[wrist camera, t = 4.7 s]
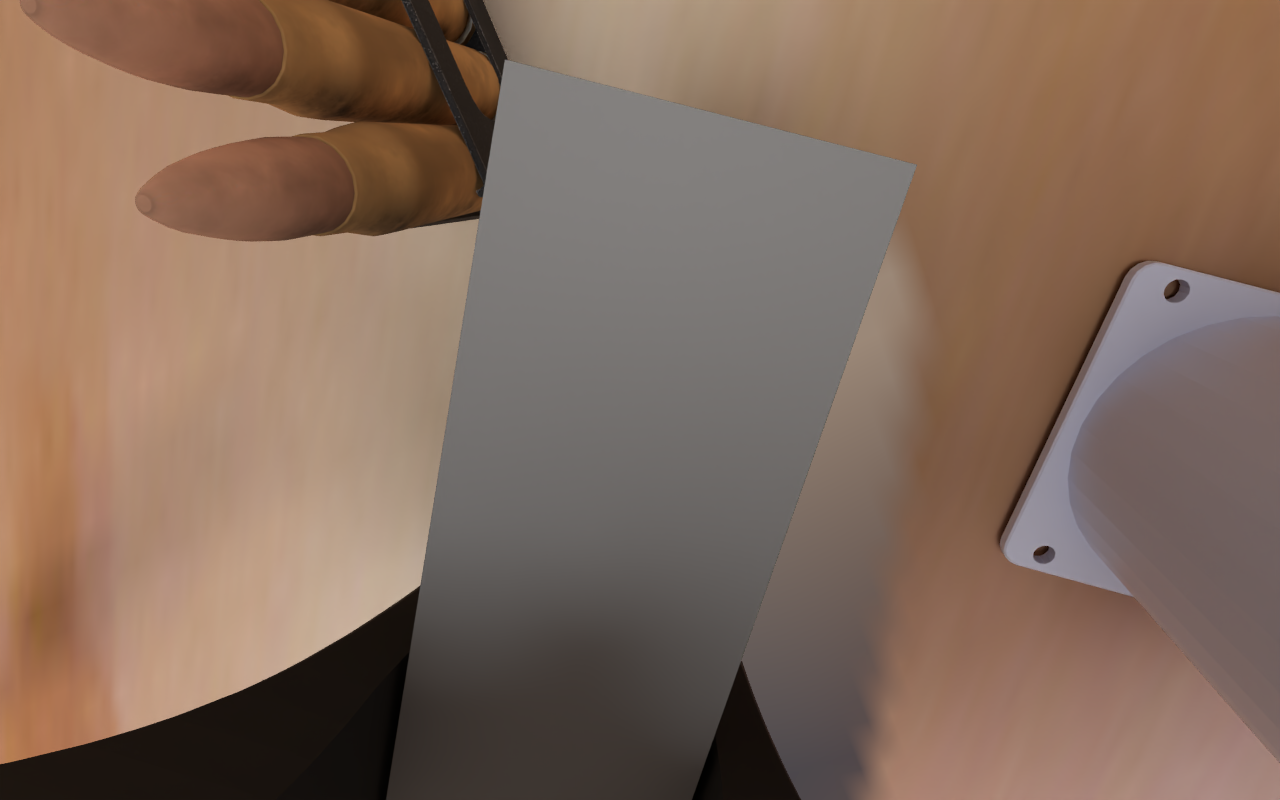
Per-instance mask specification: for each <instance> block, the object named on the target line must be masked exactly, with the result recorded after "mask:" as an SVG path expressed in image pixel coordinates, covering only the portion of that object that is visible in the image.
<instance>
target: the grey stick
mask: <svg viewBox="0 0 1280 800" xmlns="http://www.w3.org/2000/svg"><path fill="white" fill-rule="evenodd" d="M916 166H917V165H916V164H912V163H908V162H904V161H900V160H896V159H893V158H889V157H885V156H881V155H877V154H873V153H869V152H865V151H861V150H857V149H853V148H850V147H846V146H842V145H838V144H834V143H830V142H826V141H822V140H818V139H814V138H810V137H806V136H803V135H799V134H795V133H791V132H787V131H783V130H779V129H775V128H771V127H767V126H763V125H759V124H756V123H752V122H748V121H744V120H740V119H736V118H732V117H728V116H724V115H720V114H716V113H713V112H709V111H705V110H701V109H697V108H693V107H689V106H685V105H681V104H677V103H673V102H669V101H666V100H662V99H658V98H654V97H650V96H646V95H642V94H638V93H634V92H630V91H626V90H623V89H619V88H615V87H611V86H607V85H603V84H599V83H595V82H591V81H587V80H583V79H579V78H576V77H572V76H568V75H564V74H560V73H556V72H552V71H548V70H544V69H540V68H536V67H533V66H529V65H525V64H521V63H517V62H513V61H509V60H505V62H504V69H503V75H502V81H501V87H500V94H499V100H498V106H497V112H496V118H495V125H494V131H493V137H492V143H491V150H490V156H489V162H488V168H487V174H486V181H485V187H484V193H483V199H482V206H481V212H480V218H479V224H478V230H477V237H476V243H475V249H474V255H473V262H472V268H471V274H470V280H469V286H468V293H467V299H466V305H465V311H464V318H463V324H462V330H461V336H460V342H459V349H458V355H457V361H456V367H455V374H454V380H453V386H452V392H451V398H450V405H449V411H448V417H447V423H446V430H445V436H444V442H443V448H442V454H441V461H440V467H439V473H438V479H437V486H436V492H435V498H434V504H433V510H432V517H431V523H430V529H429V535H428V542H427V548H426V554H425V560H424V566H423V573H422V579H421V585H420V591H419V598H418V604H417V610H416V616H415V622H414V629H413V635H412V641H411V647H410V654H409V660H408V666H407V672H406V679H405V685H404V691H403V697H402V703H401V710H400V716H399V722H398V728H397V735H396V741H395V747H394V753H393V759H392V766H391V772H390V778H389V784H388V791H387V797H386V800H692V798H693V795H694V792H695V789H696V786H697V784H698V781H699V778H700V775H701V772H702V770H703V767H704V764H705V761H706V758H707V755H708V753H709V750H710V747H711V744H712V741H713V739H714V736H715V733H716V730H717V727H718V724H719V722H720V719H721V716H722V713H723V710H724V707H725V705H726V702H727V699H728V696H729V693H730V691H731V688H732V685H733V682H734V679H735V676H736V674H737V671H738V668H739V665H740V662H741V660H742V657H743V654H744V651H745V648H746V645H747V643H748V640H749V637H750V634H751V631H752V629H753V626H754V623H755V620H756V617H757V614H758V612H759V609H760V606H761V603H762V600H763V598H764V595H765V592H766V589H767V586H768V583H769V581H770V577H771V575H772V572H773V569H774V566H775V564H776V561H777V558H778V555H779V552H780V550H781V547H782V544H783V541H784V538H785V535H786V533H787V530H788V527H789V524H790V521H791V518H792V516H793V513H794V510H795V507H796V504H797V502H798V499H799V496H800V493H801V490H802V488H803V484H804V482H805V479H806V476H807V473H808V471H809V468H810V465H811V462H812V459H813V457H814V454H815V451H816V448H817V445H818V442H819V439H820V437H821V434H822V431H823V428H824V425H825V423H826V420H827V417H828V414H829V411H830V408H831V406H832V403H833V400H834V397H835V394H836V392H837V389H838V386H839V383H840V380H841V378H842V375H843V372H844V369H845V366H846V363H847V361H848V358H849V355H850V352H851V349H852V347H853V344H854V341H855V338H856V335H857V332H858V330H859V327H860V324H861V321H862V318H863V316H864V313H865V310H866V307H867V304H868V301H869V299H870V296H871V293H872V290H873V287H874V284H875V282H876V279H877V276H878V273H879V270H880V268H881V265H882V262H883V259H884V256H885V253H886V251H887V248H888V245H889V242H890V239H891V237H892V234H893V231H894V228H895V225H896V222H897V220H898V217H899V214H900V211H901V208H902V206H903V203H904V200H905V197H906V194H907V191H908V189H909V186H910V183H911V180H912V177H913V175H914V172H915V169H916Z"/></svg>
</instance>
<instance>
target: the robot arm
mask: <svg viewBox="0 0 1280 800" xmlns="http://www.w3.org/2000/svg"><path fill="white" fill-rule="evenodd" d="M1176 279H1178V281H1179V283H1180V288H1179V291H1178V292H1177V294H1176V295H1175V296H1174V297H1172V298H1170V299H1165V296H1164V290H1165V287H1166V286H1167V285H1168V284H1169V283H1170V282H1172V281H1174V280H1176ZM1041 546H1049V550H1048V551H1047V552H1046V553H1045V554H1043V555H1040V556H1034V555H1033V554H1034V551H1035V550H1036V549H1037V548H1039V547H1041ZM1000 548H1001V551H1002V552H1003V554H1004V556H1005V557H1006V558H1007V559H1008V560H1009V562H1011V563H1013V564H1015V565H1018V566H1022V567H1026V568H1029V569H1033V570H1037V571H1040V572H1044V573H1048V574H1051V575H1055V576H1059V577H1062V578H1066V579H1070V580H1073V581H1077V582H1081V583H1084V584H1088V585H1092V586H1095V587H1099V588H1103V589H1106V590H1110V591H1114V592H1117V593H1121V594H1125V595H1128V596H1132V597H1135V599H1136V600H1137V601H1138V602H1139V603H1140V604H1141V605H1142V607H1143V608H1144V609H1145V610H1146V611H1147V612H1148V613H1149V615H1150V616H1151V617H1152V618H1153V619H1154V620H1155V621H1156V623H1157V624H1158V625H1159V626H1160V627H1161V628H1162V629H1163V630H1164V632H1165V633H1166V634H1167V635H1168V636H1169V637H1170V638H1171V640H1172V641H1173V642H1174V643H1175V644H1176V645H1177V646H1178V648H1179V649H1180V650H1181V651H1182V652H1183V653H1184V654H1185V656H1186V657H1187V658H1188V659H1189V660H1190V661H1191V662H1192V664H1193V665H1194V666H1195V667H1196V668H1197V669H1198V670H1199V672H1200V673H1201V674H1202V675H1203V676H1204V677H1205V678H1206V680H1207V681H1208V682H1209V683H1210V684H1211V685H1212V686H1213V688H1214V689H1215V690H1216V691H1217V692H1218V693H1219V694H1220V696H1221V697H1222V698H1223V699H1224V700H1225V701H1226V702H1227V704H1228V705H1229V706H1230V707H1231V708H1232V709H1233V710H1234V712H1235V713H1236V714H1237V715H1238V716H1239V717H1240V718H1241V720H1242V721H1243V722H1244V723H1245V724H1246V725H1247V726H1248V728H1249V729H1250V730H1251V731H1252V732H1253V733H1254V734H1255V736H1256V737H1257V738H1258V739H1259V740H1260V741H1261V742H1262V744H1263V745H1264V746H1265V747H1266V748H1267V749H1268V750H1269V752H1270V753H1271V754H1272V755H1273V756H1274V757H1275V758H1276V760H1277V761H1278V762H1279V763H1280V293H1279V292H1275V291H1271V290H1267V289H1263V288H1259V287H1255V286H1251V285H1247V284H1244V283H1240V282H1236V281H1232V280H1228V279H1224V278H1220V277H1216V276H1213V275H1209V274H1205V273H1201V272H1197V271H1193V270H1189V269H1185V268H1181V267H1178V266H1174V265H1170V264H1166V263H1162V262H1158V261H1145V262H1142V263H1138V264H1137V265H1136V266H1134V267H1133V268H1131V269H1130V270H1129V272H1128V273H1127V275H1126V276H1125V278H1124V280H1123V282H1122V284H1121V286H1120V288H1119V290H1118V292H1117V294H1116V297H1115V299H1114V301H1113V303H1112V305H1111V307H1110V309H1109V311H1108V313H1107V315H1106V318H1105V320H1104V322H1103V324H1102V326H1101V328H1100V330H1099V332H1098V334H1097V337H1096V339H1095V341H1094V343H1093V345H1092V347H1091V349H1090V351H1089V353H1088V356H1087V358H1086V360H1085V362H1084V364H1083V366H1082V368H1081V370H1080V372H1079V375H1078V377H1077V379H1076V381H1075V383H1074V385H1073V387H1072V389H1071V391H1070V393H1069V396H1068V398H1067V400H1066V402H1065V404H1064V406H1063V408H1062V410H1061V412H1060V415H1059V417H1058V419H1057V421H1056V423H1055V425H1054V427H1053V429H1052V431H1051V434H1050V436H1049V438H1048V440H1047V442H1046V444H1045V446H1044V448H1043V450H1042V452H1041V455H1040V457H1039V459H1038V461H1037V463H1036V465H1035V467H1034V469H1033V471H1032V474H1031V476H1030V478H1029V480H1028V482H1027V484H1026V486H1025V488H1024V490H1023V493H1022V495H1021V497H1020V499H1019V501H1018V503H1017V505H1016V507H1015V509H1014V512H1013V514H1012V516H1011V518H1010V520H1009V522H1008V524H1007V526H1006V528H1005V530H1004V533H1003V535H1002V537H1001V540H1000ZM419 591H420V586H419V587H418V588H416V589H415V590H414V591H412V592H411V593H409V594H408V595H407V596H405V597H404V598H402V599H401V600H400V601H398V602H397V603H395V604H394V605H392V606H391V607H389V608H388V609H386V610H385V611H383V612H382V613H380V614H379V615H377V616H376V617H374V618H373V619H371V620H370V621H368V622H367V623H365V624H363V625H362V626H360V627H359V628H357V629H356V630H354V631H353V632H351V633H349V634H348V635H346V636H344V637H343V638H341V639H339V640H338V641H336V642H334V643H332V644H331V645H329V646H327V647H325V648H324V649H322V650H320V651H319V652H317V653H315V654H313V655H312V656H310V657H308V658H306V659H305V660H303V661H301V662H299V663H297V664H295V665H293V666H291V667H289V668H288V669H286V670H284V671H282V672H280V673H278V674H276V675H274V676H272V677H269V678H267V679H265V680H263V681H261V682H259V683H257V684H255V685H253V686H250V687H248V688H246V689H244V690H242V691H239V692H237V693H234V694H232V695H229V696H227V697H224V698H221V699H219V700H216V701H214V702H211V703H209V704H206V705H204V706H201V707H199V708H196V709H193V710H191V711H188V712H186V713H183V714H181V715H178V716H175V717H172V718H169V719H166V720H163V721H160V722H157V723H154V724H151V725H148V726H145V727H142V728H139V729H136V730H132V731H129V732H126V733H122V734H119V735H116V736H112V737H109V738H106V739H102V740H99V741H95V742H91V743H88V744H84V745H80V746H76V747H72V748H68V749H64V750H60V751H56V752H51V753H47V754H43V755H39V756H35V757H31V758H27V759H23V760H19V761H14V762H10V763H5V764H0V800H386V797H387V791H388V784H389V778H390V772H391V766H392V759H393V753H394V747H395V741H396V735H397V728H398V722H399V716H400V710H401V703H402V697H403V691H404V685H405V679H406V672H407V666H408V660H409V654H410V647H411V641H412V635H413V629H414V622H415V616H416V610H417V604H418V598H419ZM692 800H801V799H800V797H799V795H798V793H797V791H796V789H795V787H794V785H793V783H792V782H791V779H790V777H789V775H788V773H787V771H786V769H785V767H784V765H783V763H782V761H781V759H780V756H779V754H778V752H777V750H776V747H775V745H774V743H773V741H772V738H771V736H770V734H769V732H768V730H767V727H766V725H765V722H764V720H763V717H762V715H761V712H760V710H759V707H758V705H757V702H756V700H755V697H754V694H753V692H752V689H751V686H750V683H749V681H748V678H747V675H746V672H745V669H744V666H743V663H742V661H741V662H740V665H739V668H738V671H737V674H736V676H735V679H734V682H733V685H732V688H731V691H730V693H729V696H728V699H727V702H726V705H725V707H724V710H723V713H722V716H721V719H720V722H719V724H718V727H717V730H716V733H715V736H714V739H713V741H712V744H711V747H710V750H709V753H708V755H707V758H706V761H705V764H704V767H703V770H702V772H701V775H700V778H699V781H698V784H697V786H696V789H695V792H694V795H693V798H692Z"/></svg>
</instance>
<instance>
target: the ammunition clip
mask: <svg viewBox="0 0 1280 800" xmlns="http://www.w3.org/2000/svg"><path fill="white" fill-rule="evenodd" d="M20 5H21V8H22V10H23V12H24V13H25V14H26V15H27V16H28V17H29V18H30V19H31V20H32V21H33V22H34V23H35V24H37V25H38V26H39V27H41V28H42V29H43V30H45V31H46V32H47V33H49V34H50V35H51V36H53V37H55V38H56V39H58V40H60V41H61V42H63V43H65V44H66V45H68V46H70V47H72V48H74V49H76V50H77V51H79V52H81V53H83V54H86V55H88V56H90V57H92V58H94V59H97V60H99V61H101V62H103V63H105V64H107V65H110V66H112V67H114V68H117V69H119V70H122V71H124V72H127V73H130V74H132V75H135V76H138V77H141V78H144V79H147V80H151V81H154V82H158V83H162V84H166V85H170V86H174V87H178V88H182V89H187V90H192V91H199V92H206V93H214V94H221V95H228V96H230V97H232V98H236V99H242V100H248V101H255V102H261V103H267V104H270V105H272V106H274V107H277V108H279V109H281V110H283V111H286V112H288V113H290V114H293V115H295V116H300V117H306V118H313V119H320V120H332V121H347V122H355V123H351V124H347V125H343V126H339V127H336V128H333V129H331V130H329V131H326V132H322V133H307V134H299V135H296V136H292V137H264V138H257V139H251V140H246V141H241V142H235V143H230V144H226V145H223V146H219V147H215V148H212V149H208V150H205V151H202V152H199V153H196V154H194V155H191V156H188V157H186V158H184V159H182V160H180V161H178V162H176V163H173V164H171V165H169V166H167V167H166V168H164V169H163V170H161V171H160V172H158V173H157V174H156V175H154V176H153V177H152V178H151V179H150V180H149V181H148V182H147V183H146V184H144V185H143V186H142V187H141V189H140V190H139V191H138V193H137V195H136V197H135V203H136V206H137V208H138V210H139V211H140V212H141V213H142V214H143V215H145V216H147V217H148V218H150V219H152V220H154V221H156V222H158V223H160V224H162V225H165V226H167V227H169V228H172V229H175V230H178V231H181V232H185V233H190V234H195V235H201V236H206V237H212V238H219V239H227V240H236V241H280V240H289V239H295V238H300V237H305V236H311V235H316V236H325V235H332V234H339V233H346V232H348V233H355V234H361V235H368V236H378V235H384V234H388V233H392V232H397V231H401V230H405V229H409V228H416V227H423V226H431V225H438V224H445V223H452V222H459V221H466V220H473V219H479V218H480V212H481V206H482V199H483V193H484V187H485V181H486V174H487V168H488V162H489V156H490V150H491V143H492V137H493V131H494V125H495V118H496V112H497V106H498V100H499V94H500V87H501V81H502V75H503V69H504V62H505V60H508V59H507V57H506V54H505V52H504V50H503V47H502V45H501V43H500V40H499V38H498V36H497V33H496V31H495V28H494V26H493V24H492V21H491V19H490V17H489V14H488V12H487V10H486V7H485V5H484V2H483V0H20Z"/></svg>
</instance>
